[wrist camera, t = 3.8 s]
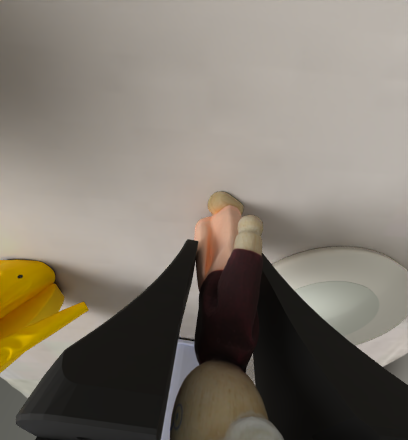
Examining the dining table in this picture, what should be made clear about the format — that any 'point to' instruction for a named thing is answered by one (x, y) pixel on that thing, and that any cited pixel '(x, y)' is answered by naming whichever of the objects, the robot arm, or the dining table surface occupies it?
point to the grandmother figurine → (224, 331)
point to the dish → (350, 289)
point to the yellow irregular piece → (29, 307)
